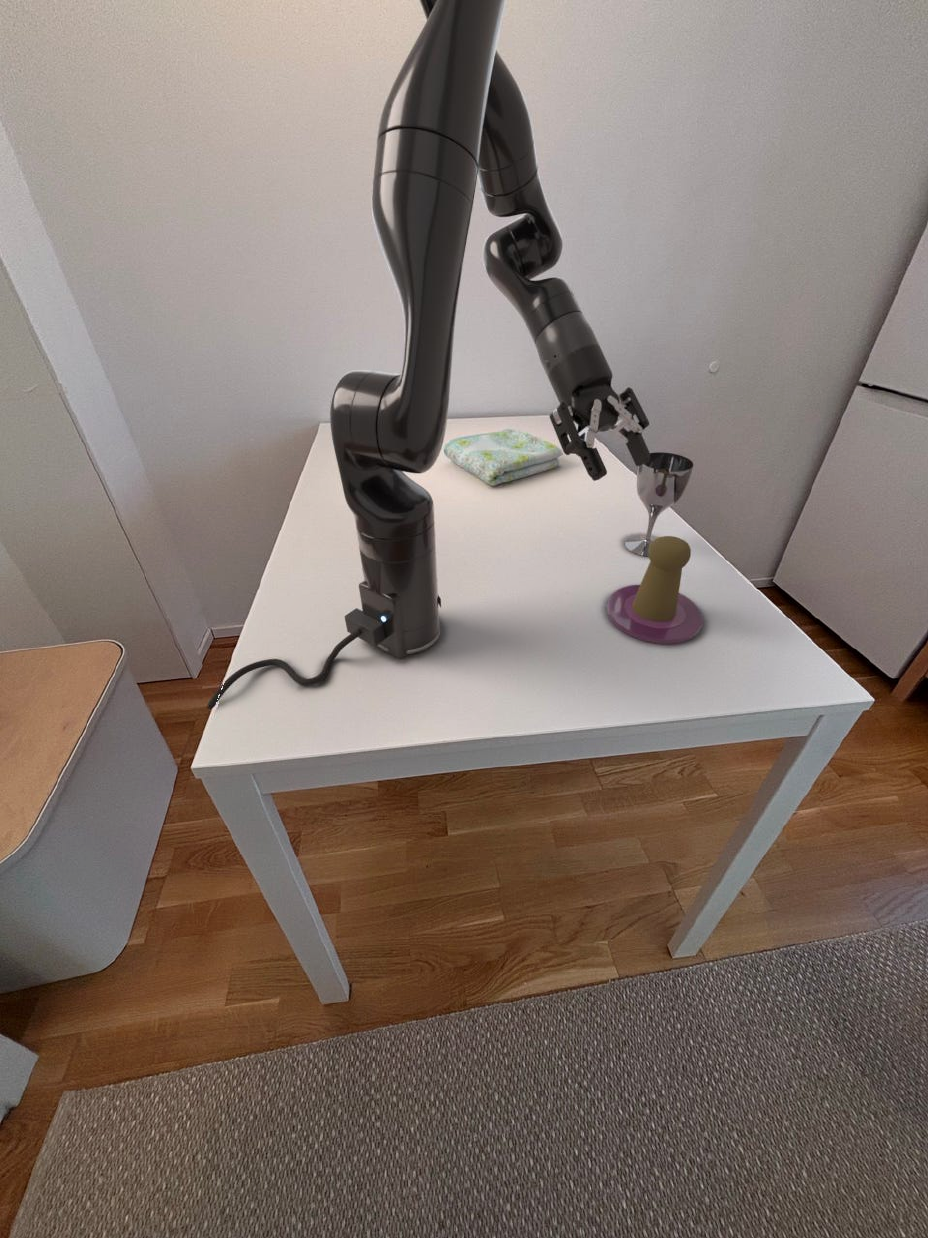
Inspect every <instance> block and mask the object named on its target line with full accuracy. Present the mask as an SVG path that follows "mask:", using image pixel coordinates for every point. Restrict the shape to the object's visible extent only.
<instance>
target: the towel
mask: <svg viewBox="0 0 928 1238" xmlns="http://www.w3.org/2000/svg"><path fill="white" fill-rule="evenodd" d="M443 453H444V455H445V456H446V457H447V459H449V460H451V461H452V462H453V463H455V464H456V465H457V466H459V467H461V468H462V469H464V470H466V471H467V472H469V473H471V474H473V475H474V476H475V477H477V478H479V479H480V480H481V481H482V482H484V483H486V484H487V485H490V486H492V487H494V486H497V485H500V484H503V483H509V482H512V481H515V480H519V479H522V478H525V477H529V476H532V475H535V474H539V473H541V472H542V473H543V472H546V471H549V470H552V469H554V468H557V467H558V466H559V464H560V460H559V458H560V457H561V456H563V454H564V452H563V450H562V448H560V447H559V446H557V445H556V444H554V443H552V442H550V441H548V440H546V439H543V438H540V437H539V436H537V435H534V434H531V433H529V432H526V431H522V430H520V429H519V430H518V429H511V428H507V429H503V430H499V431H494V432H487V433H479V434H473V435H466V436H461V437H457V438H453V439H451V440H449V441H448V442H447V443H446V444H445V445H444V448H443Z"/></svg>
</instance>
